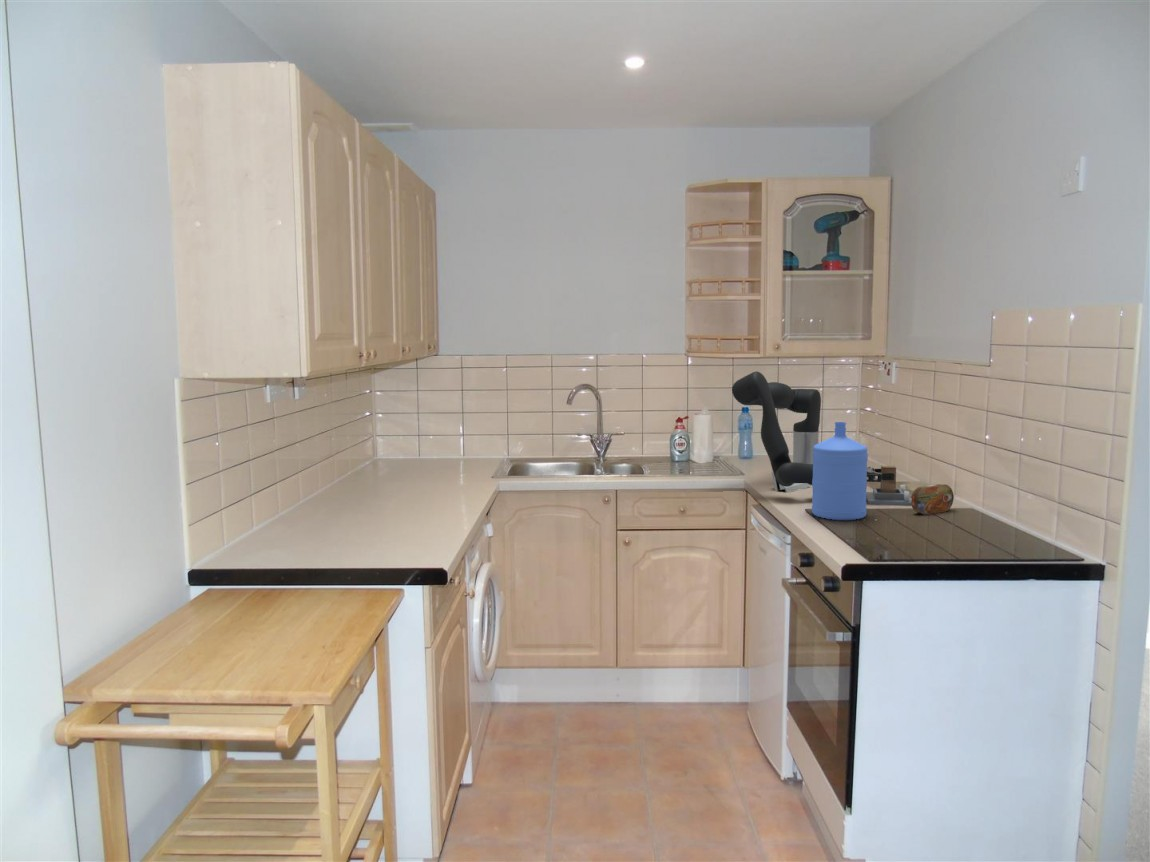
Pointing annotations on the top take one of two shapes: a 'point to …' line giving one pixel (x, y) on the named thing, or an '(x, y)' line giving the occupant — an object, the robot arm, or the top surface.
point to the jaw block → (888, 485)
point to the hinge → (789, 488)
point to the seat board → (889, 497)
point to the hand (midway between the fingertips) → (890, 474)
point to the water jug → (839, 477)
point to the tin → (932, 499)
